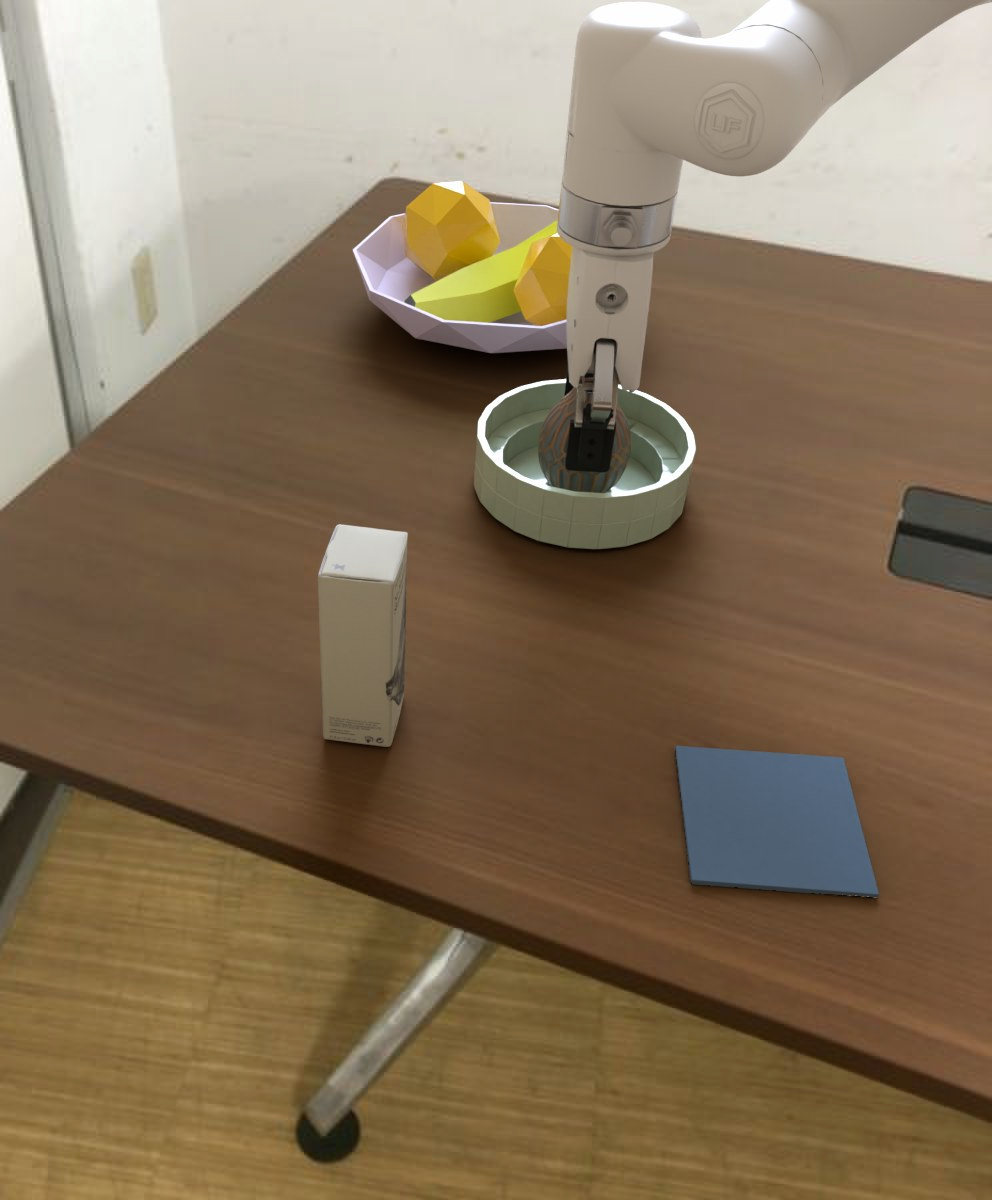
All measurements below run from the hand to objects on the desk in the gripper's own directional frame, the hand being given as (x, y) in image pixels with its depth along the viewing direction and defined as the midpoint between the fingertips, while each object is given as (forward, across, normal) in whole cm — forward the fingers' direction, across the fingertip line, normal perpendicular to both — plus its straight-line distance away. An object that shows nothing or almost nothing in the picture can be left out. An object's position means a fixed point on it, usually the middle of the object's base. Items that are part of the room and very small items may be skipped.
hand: (585, 438), depth 93 cm
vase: (+4, 0, 0) cm, 4 cm away
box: (+5, -26, +14) cm, 30 cm away
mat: (+5, -32, -10) cm, 34 cm away
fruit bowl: (+5, +28, +6) cm, 29 cm away
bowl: (+5, 0, 0) cm, 5 cm away
